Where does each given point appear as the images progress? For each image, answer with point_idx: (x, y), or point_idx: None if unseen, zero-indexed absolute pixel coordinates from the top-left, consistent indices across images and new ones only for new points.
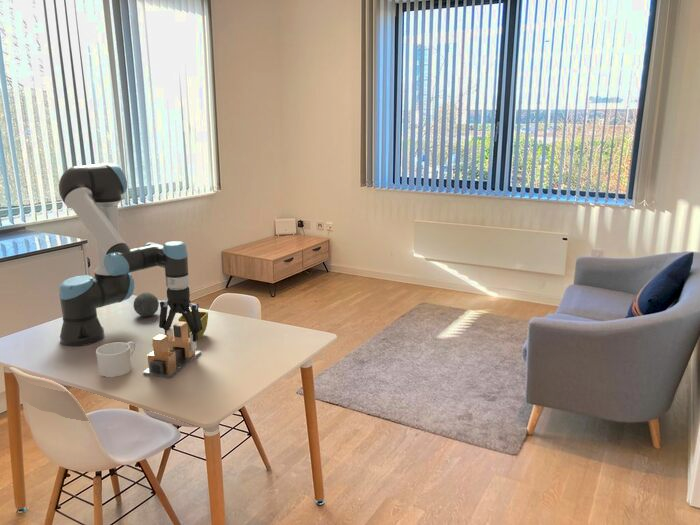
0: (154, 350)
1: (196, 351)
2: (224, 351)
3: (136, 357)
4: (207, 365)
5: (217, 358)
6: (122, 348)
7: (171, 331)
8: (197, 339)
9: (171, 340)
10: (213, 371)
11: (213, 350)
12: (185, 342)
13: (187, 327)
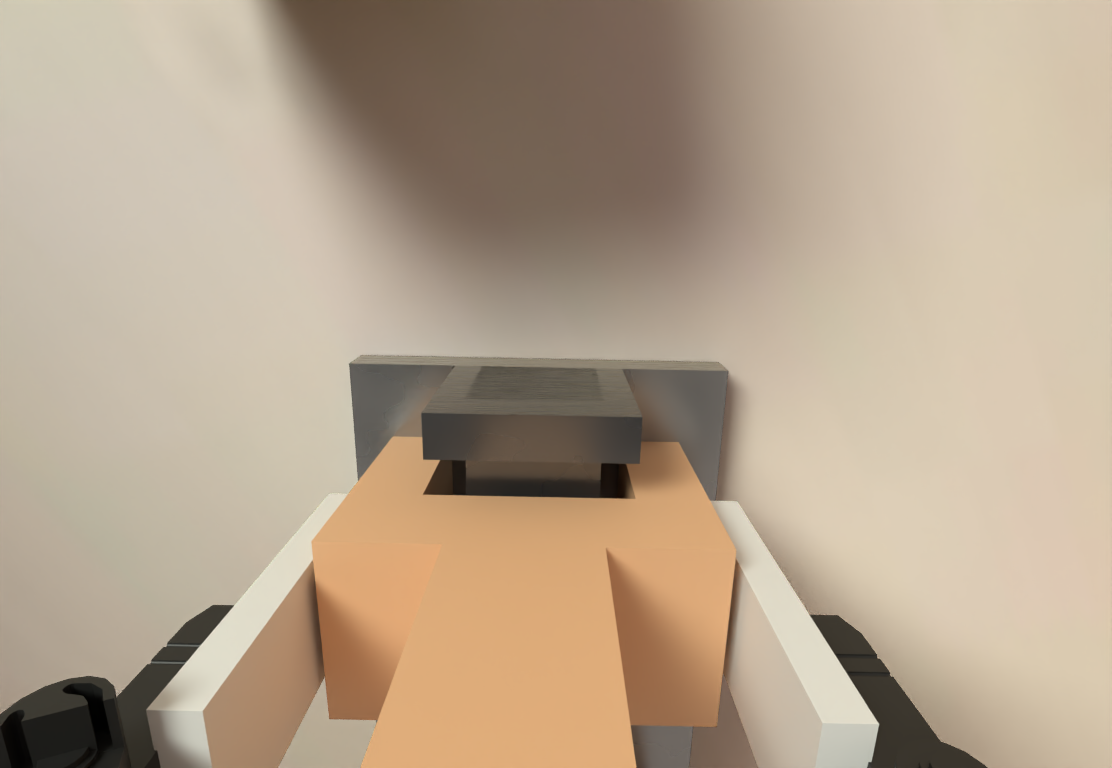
0: None
1: (669, 393)
2: (998, 210)
3: (61, 624)
4: (908, 608)
5: (966, 429)
6: None
7: (244, 713)
8: (857, 649)
9: (375, 703)
10: (1014, 703)
11: (835, 219)
12: (655, 719)
13: (628, 726)
